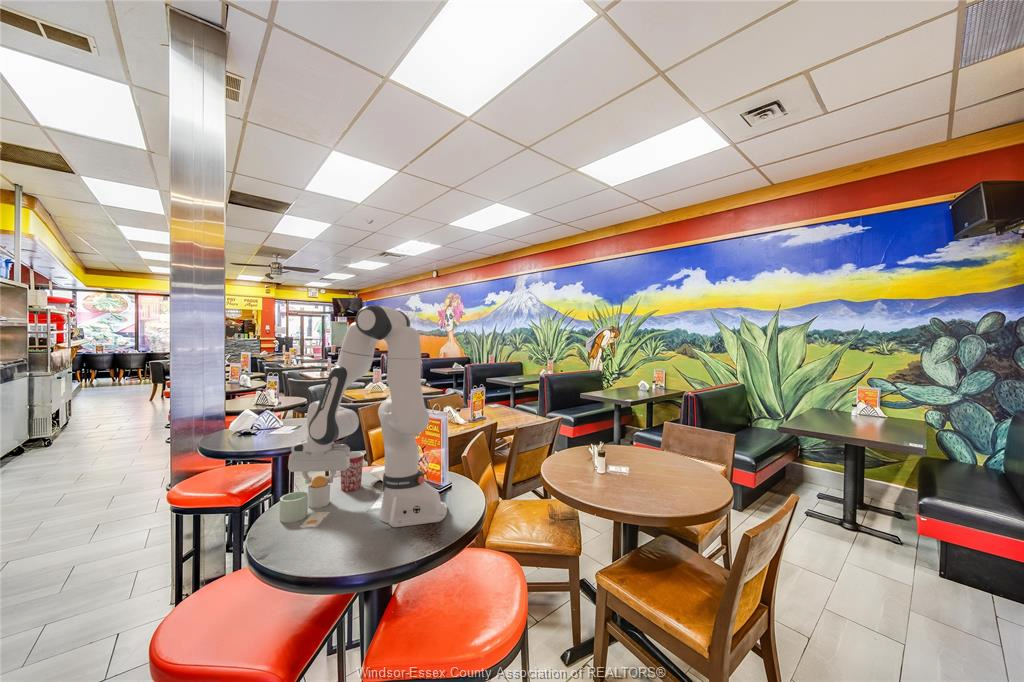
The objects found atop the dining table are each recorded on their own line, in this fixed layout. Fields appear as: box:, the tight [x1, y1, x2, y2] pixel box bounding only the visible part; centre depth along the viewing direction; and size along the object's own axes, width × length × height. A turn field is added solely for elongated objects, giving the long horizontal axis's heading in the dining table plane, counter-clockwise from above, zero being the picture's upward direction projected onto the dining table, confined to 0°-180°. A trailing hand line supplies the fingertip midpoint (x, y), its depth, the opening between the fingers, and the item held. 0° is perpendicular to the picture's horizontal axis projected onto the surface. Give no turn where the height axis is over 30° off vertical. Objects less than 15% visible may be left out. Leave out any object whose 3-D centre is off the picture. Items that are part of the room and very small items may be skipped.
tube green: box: [279, 491, 309, 524], centre depth 122 cm, size 8×8×7 cm
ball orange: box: [310, 475, 327, 488], centre depth 133 cm, size 5×5×5 cm
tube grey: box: [307, 483, 331, 509], centre depth 133 cm, size 7×7×7 cm
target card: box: [299, 511, 330, 529], centre depth 120 cm, size 5×10×1 cm, turn 6°
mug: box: [340, 451, 365, 493], centre depth 149 cm, size 13×9×14 cm
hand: (319, 483), depth 133 cm, fingers open, 6 cm apart
